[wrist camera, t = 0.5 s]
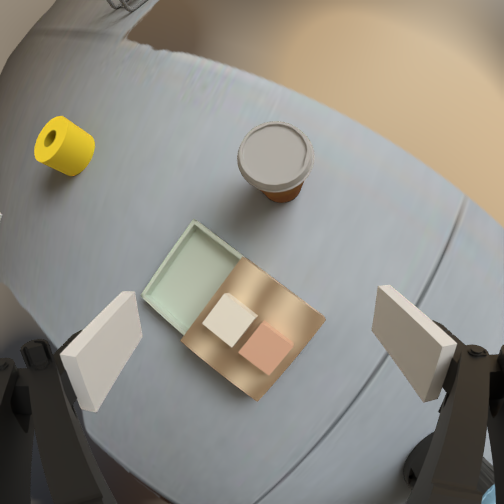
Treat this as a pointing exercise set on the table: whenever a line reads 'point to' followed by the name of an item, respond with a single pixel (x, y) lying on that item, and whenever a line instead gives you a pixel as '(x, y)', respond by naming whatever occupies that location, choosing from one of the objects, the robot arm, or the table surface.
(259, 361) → the terracotta tile
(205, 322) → the cream tile
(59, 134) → the yellow toilet paper roll
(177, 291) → the tray
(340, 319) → the table surface
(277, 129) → the disposable coffee cup
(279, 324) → the tan wooden flat block
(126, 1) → the newton's cradle
